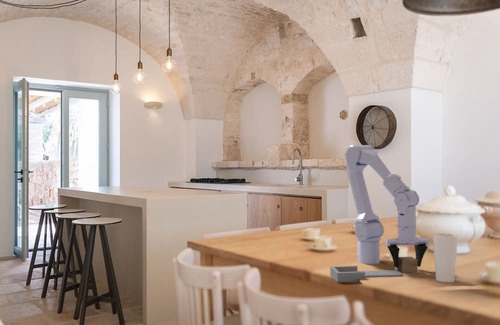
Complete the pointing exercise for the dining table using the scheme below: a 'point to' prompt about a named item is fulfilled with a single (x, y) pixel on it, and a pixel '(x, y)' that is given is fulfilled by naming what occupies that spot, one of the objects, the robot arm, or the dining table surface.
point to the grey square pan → (358, 273)
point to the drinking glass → (445, 256)
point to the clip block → (407, 264)
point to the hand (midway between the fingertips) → (407, 266)
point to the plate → (406, 272)
